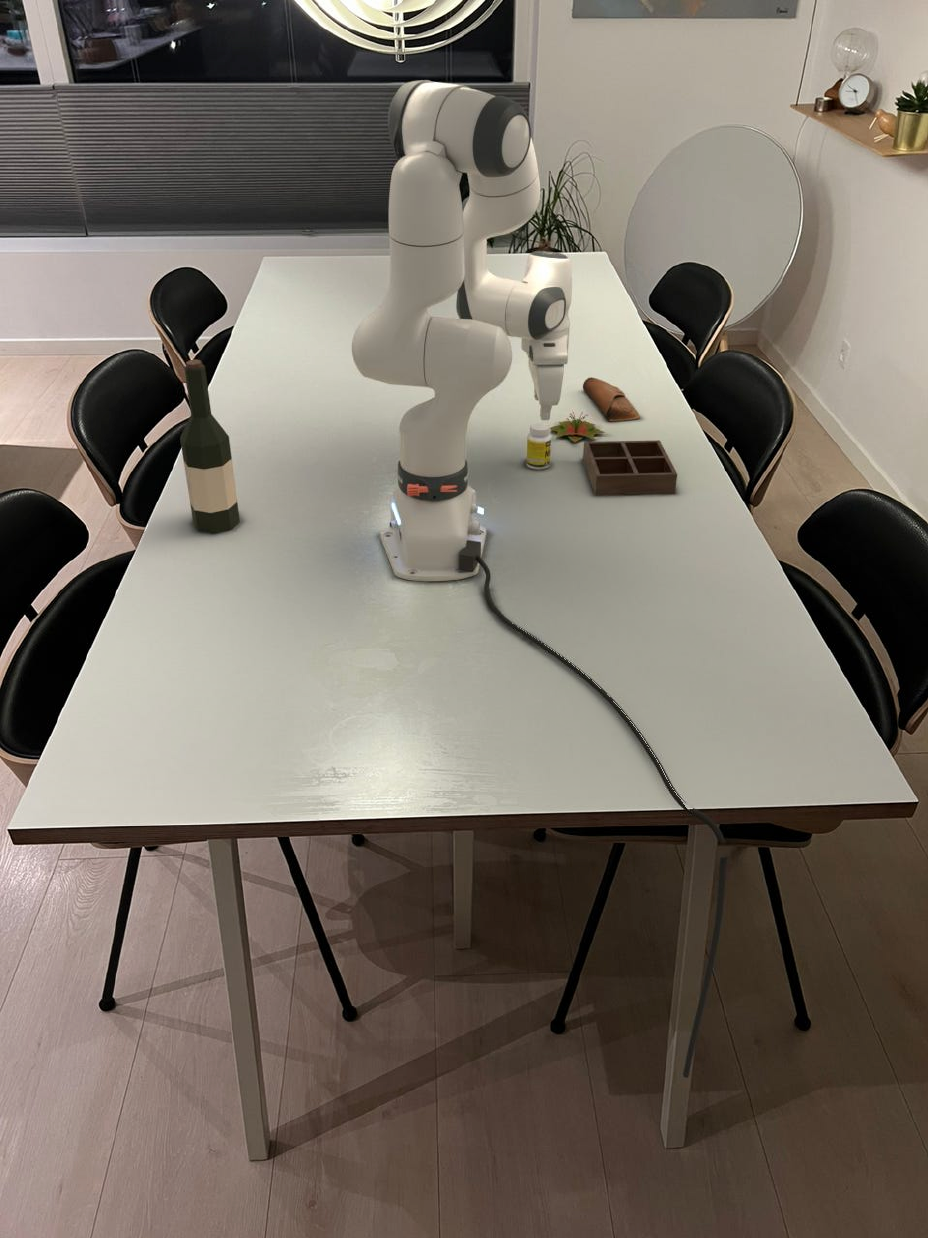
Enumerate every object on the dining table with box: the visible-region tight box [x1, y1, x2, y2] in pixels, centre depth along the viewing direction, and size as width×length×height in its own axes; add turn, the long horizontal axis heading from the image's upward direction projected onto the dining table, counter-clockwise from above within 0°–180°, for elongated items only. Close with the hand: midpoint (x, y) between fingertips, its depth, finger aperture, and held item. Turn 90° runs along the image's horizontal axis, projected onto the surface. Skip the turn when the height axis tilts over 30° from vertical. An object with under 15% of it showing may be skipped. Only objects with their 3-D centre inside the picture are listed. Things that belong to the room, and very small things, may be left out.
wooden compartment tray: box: [582, 439, 678, 496], centre depth 205 cm, size 15×15×4 cm
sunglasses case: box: [582, 376, 641, 423], centre depth 235 cm, size 18×7×7 cm, turn 12°
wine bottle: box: [179, 359, 241, 535], centre depth 181 cm, size 8×8×30 cm
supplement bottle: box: [525, 421, 552, 471], centre depth 207 cm, size 5×5×8 cm
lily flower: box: [550, 411, 607, 444], centre depth 221 cm, size 12×12×5 cm
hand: (541, 408), depth 203 cm, fingers open, 8 cm apart
